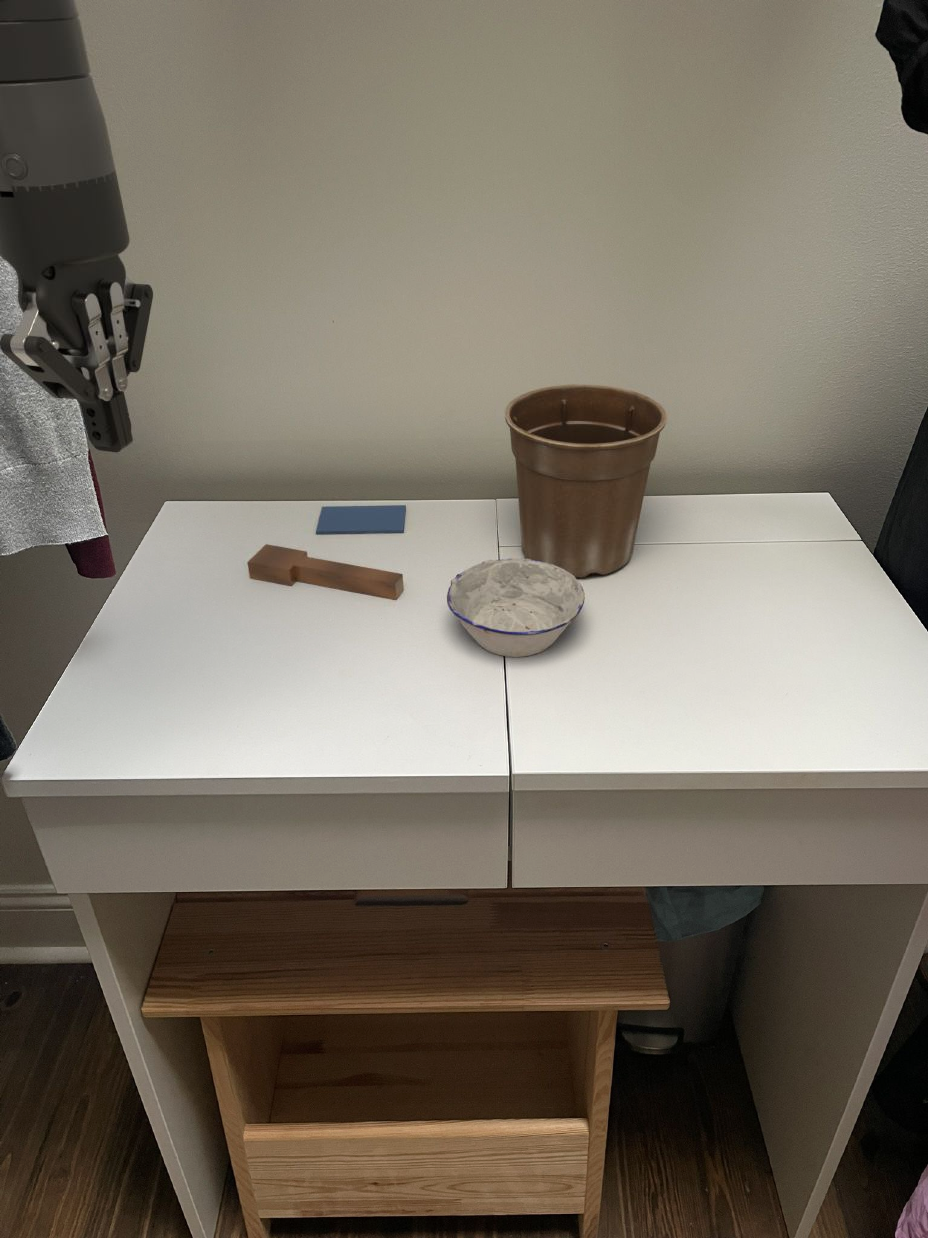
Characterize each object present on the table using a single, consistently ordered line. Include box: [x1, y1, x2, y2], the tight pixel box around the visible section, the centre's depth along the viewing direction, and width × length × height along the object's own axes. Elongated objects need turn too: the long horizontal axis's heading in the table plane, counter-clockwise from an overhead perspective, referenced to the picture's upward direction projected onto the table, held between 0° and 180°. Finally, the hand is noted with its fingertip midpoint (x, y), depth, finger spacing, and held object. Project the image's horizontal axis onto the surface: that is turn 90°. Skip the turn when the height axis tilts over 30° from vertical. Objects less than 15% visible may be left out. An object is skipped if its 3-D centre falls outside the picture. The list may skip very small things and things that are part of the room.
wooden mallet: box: [246, 543, 404, 601], centre depth 99 cm, size 16×4×2 cm, turn 70°
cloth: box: [315, 504, 407, 535], centre depth 110 cm, size 10×6×1 cm, turn 90°
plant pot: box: [504, 383, 668, 578], centre depth 100 cm, size 16×16×16 cm
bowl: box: [446, 558, 586, 658], centre depth 90 cm, size 13×13×5 cm
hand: (113, 446), depth 64 cm, fingers closed
